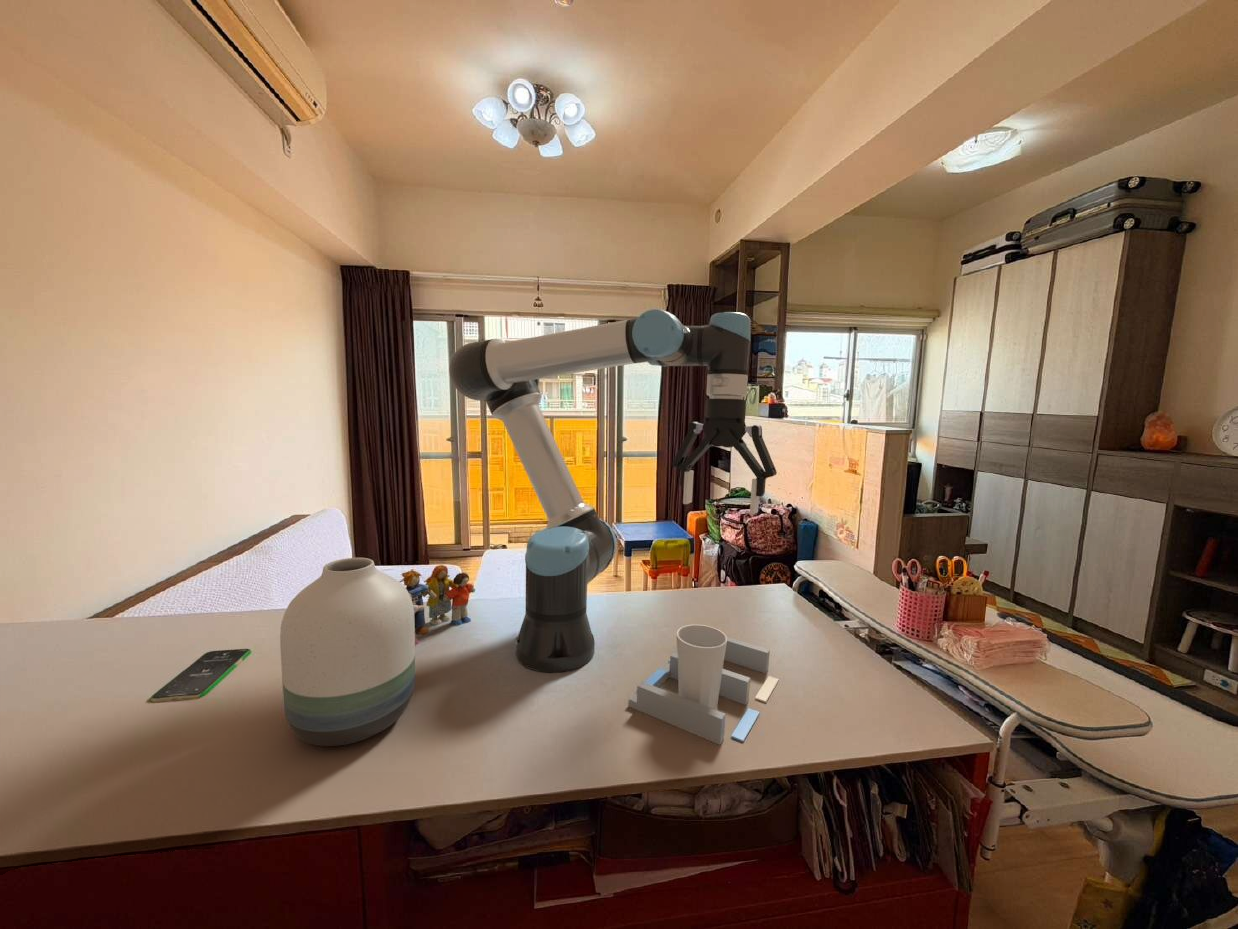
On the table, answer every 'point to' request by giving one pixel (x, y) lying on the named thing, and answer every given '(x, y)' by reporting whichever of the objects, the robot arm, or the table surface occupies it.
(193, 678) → the smartphone
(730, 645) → the parallel grey wall panels
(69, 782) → the table surface
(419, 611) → the doll family
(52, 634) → the table surface
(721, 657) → the cup
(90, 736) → the table surface
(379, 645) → the vase
